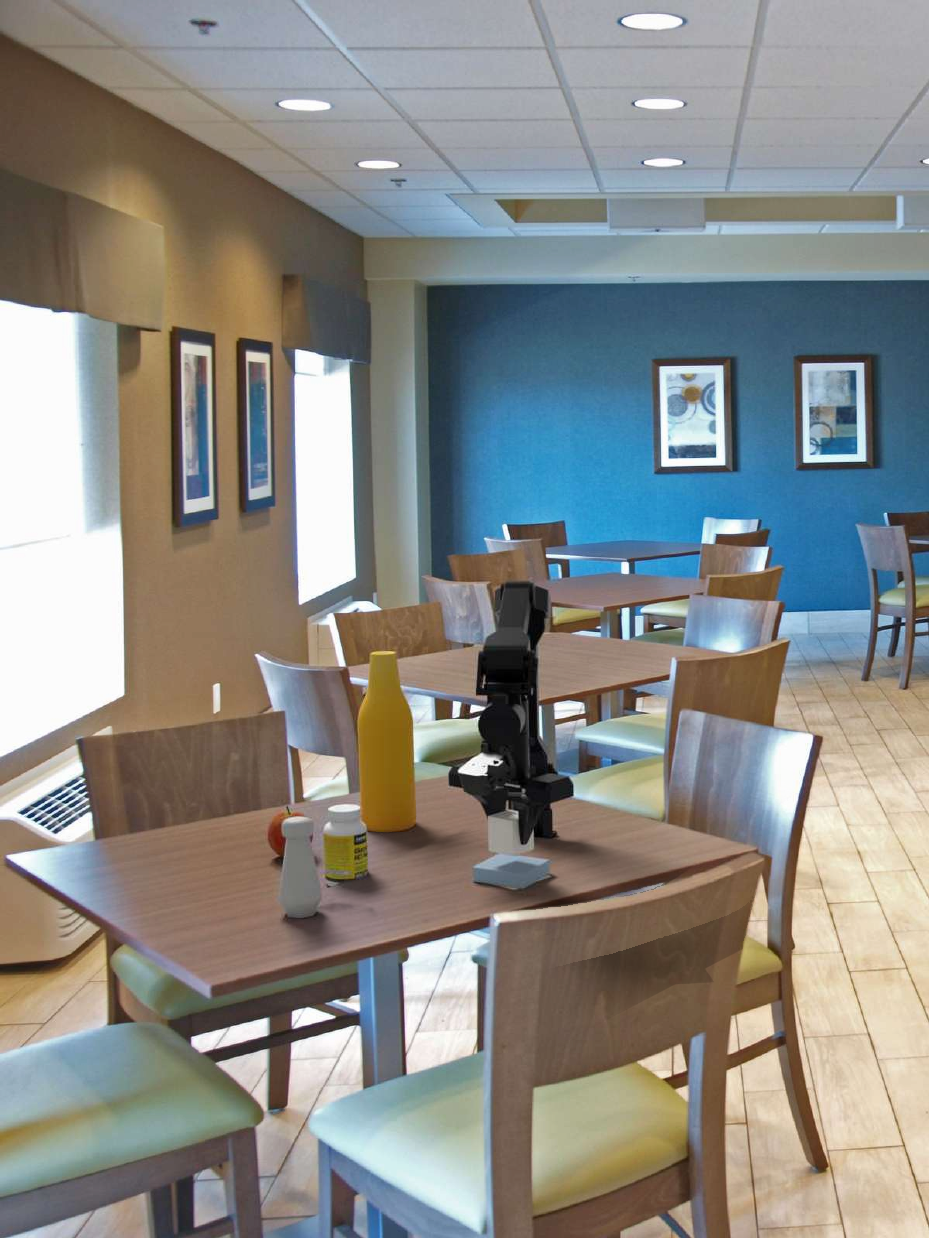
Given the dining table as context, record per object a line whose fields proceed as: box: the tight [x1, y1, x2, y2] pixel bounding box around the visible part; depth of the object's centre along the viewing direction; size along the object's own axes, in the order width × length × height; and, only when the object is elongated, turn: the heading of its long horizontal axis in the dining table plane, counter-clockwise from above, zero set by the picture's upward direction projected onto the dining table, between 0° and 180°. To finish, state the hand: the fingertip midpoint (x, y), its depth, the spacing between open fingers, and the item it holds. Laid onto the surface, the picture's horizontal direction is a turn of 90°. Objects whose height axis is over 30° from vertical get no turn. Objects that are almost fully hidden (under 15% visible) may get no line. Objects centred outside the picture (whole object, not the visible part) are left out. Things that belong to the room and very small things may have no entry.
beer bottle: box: [357, 650, 417, 833], centre depth 227 cm, size 9×9×29 cm
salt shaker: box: [278, 816, 323, 919], centre depth 184 cm, size 6×6×13 cm
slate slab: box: [471, 853, 551, 889], centre depth 193 cm, size 8×8×2 cm
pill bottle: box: [323, 803, 369, 887], centre depth 197 cm, size 6×6×11 cm
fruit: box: [267, 805, 314, 858], centre depth 211 cm, size 7×7×8 cm
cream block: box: [487, 809, 535, 856], centre depth 192 cm, size 4×4×5 cm
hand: (510, 841), depth 193 cm, fingers closed on cream block, 4 cm apart
